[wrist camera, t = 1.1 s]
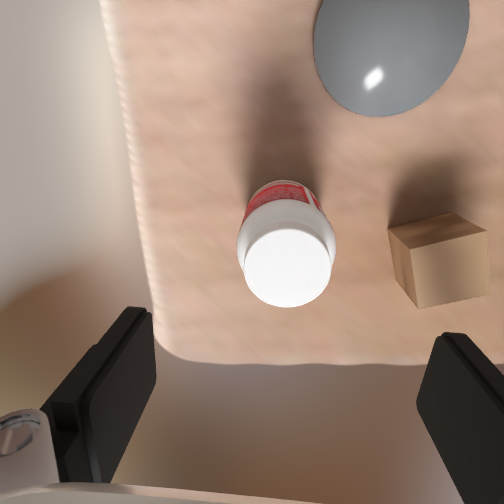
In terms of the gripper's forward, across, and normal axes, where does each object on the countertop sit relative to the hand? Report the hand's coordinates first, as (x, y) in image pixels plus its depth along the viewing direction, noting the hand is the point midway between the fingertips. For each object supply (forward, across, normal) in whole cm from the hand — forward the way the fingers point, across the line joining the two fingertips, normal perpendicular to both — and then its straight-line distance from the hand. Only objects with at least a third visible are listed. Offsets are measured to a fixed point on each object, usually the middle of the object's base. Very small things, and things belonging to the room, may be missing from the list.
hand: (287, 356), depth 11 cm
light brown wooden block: (+18, -12, +2) cm, 22 cm away
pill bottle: (+18, 0, 0) cm, 18 cm away
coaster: (+18, -6, -13) cm, 23 cm away
